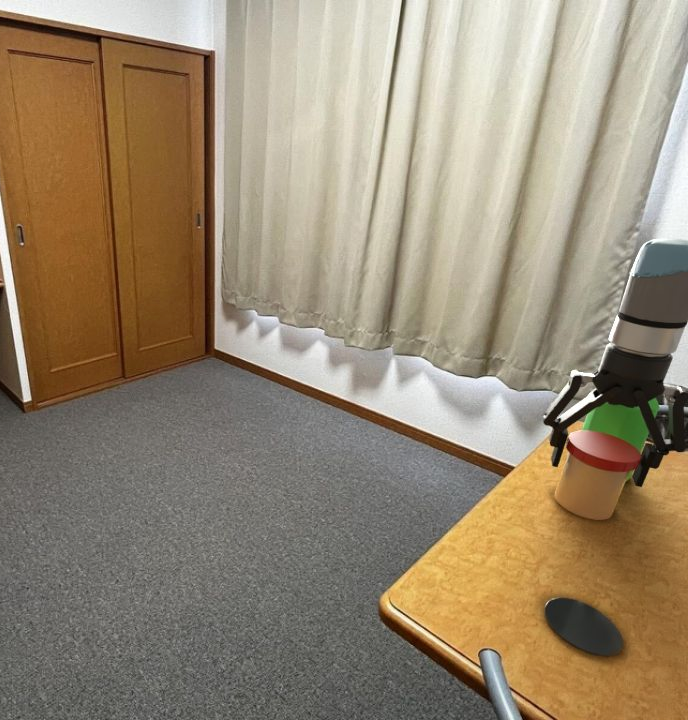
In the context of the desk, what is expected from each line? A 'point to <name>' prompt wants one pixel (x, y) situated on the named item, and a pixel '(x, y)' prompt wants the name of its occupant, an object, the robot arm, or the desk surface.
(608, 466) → the lid
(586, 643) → the coaster
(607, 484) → the jam jar
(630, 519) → the desk surface
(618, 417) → the bottle
